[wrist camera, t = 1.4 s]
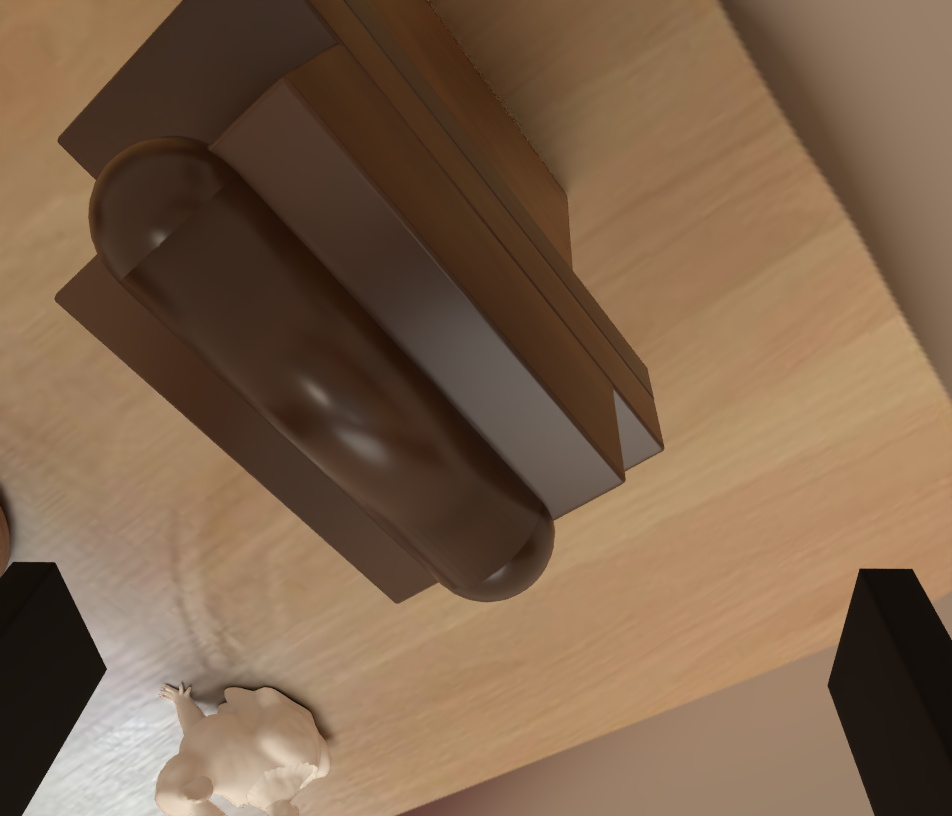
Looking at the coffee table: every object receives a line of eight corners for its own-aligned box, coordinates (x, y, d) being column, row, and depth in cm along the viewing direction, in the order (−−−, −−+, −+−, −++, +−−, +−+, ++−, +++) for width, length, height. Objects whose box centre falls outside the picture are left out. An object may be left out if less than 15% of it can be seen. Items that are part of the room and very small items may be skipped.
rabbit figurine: (155, 691, 51) (81, 839, 43) (202, 630, 47) (129, 779, 39) (315, 764, 54) (274, 915, 46) (370, 711, 50) (335, 866, 42)
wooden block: (326, 48, 29) (174, 140, 17) (407, -27, 27) (301, 16, 16) (489, 253, 33) (457, 444, 21) (568, 197, 31) (581, 369, 19)
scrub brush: (140, 100, 17) (-129, 224, 10) (307, -77, 15) (111, -70, 8) (484, 465, 21) (456, 716, 15) (648, 368, 19) (701, 608, 13)
